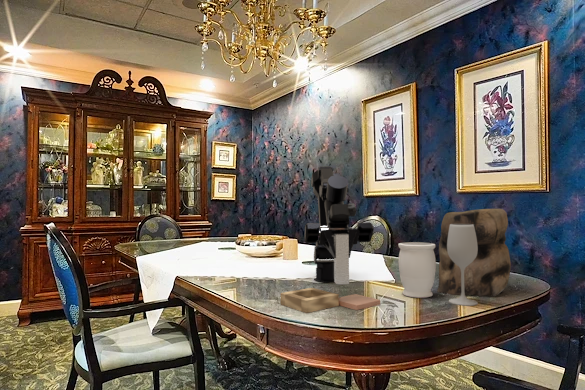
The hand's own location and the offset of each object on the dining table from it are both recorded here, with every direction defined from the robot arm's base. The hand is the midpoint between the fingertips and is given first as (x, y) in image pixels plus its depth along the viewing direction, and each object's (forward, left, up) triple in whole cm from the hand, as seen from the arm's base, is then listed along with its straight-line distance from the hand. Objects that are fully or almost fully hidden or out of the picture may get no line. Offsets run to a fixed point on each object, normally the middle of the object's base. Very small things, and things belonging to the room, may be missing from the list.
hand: (342, 256), depth 104 cm
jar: (-26, +5, -13) cm, 29 cm away
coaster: (-4, +1, -13) cm, 14 cm away
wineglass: (-28, +18, -13) cm, 35 cm away
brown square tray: (+6, -6, -13) cm, 16 cm away
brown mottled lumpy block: (-45, +12, -13) cm, 48 cm away
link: (-1, -1, -7) cm, 7 cm away
